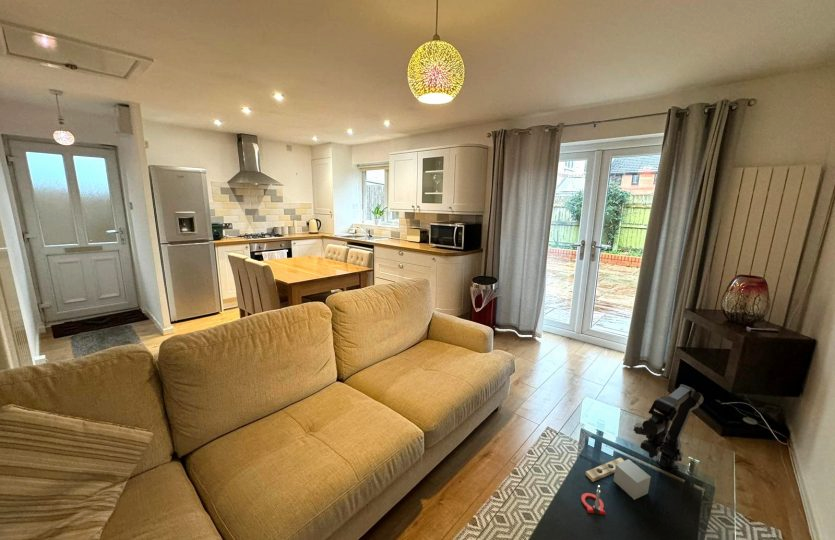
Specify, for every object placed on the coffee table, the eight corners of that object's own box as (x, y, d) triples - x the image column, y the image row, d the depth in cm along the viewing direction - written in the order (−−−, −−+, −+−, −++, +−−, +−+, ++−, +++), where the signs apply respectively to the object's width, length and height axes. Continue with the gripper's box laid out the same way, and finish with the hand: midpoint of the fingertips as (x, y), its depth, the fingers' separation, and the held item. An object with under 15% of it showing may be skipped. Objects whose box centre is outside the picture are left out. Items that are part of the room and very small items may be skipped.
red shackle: (578, 493, 142) (585, 513, 133) (580, 468, 139) (588, 486, 130) (598, 496, 141) (607, 516, 132) (601, 470, 138) (611, 489, 129)
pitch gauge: (620, 460, 158) (620, 457, 157) (627, 466, 154) (628, 463, 154) (585, 474, 151) (586, 471, 150) (592, 481, 147) (593, 478, 146)
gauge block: (626, 475, 150) (628, 459, 148) (647, 493, 141) (650, 476, 138) (613, 480, 147) (615, 464, 145) (634, 499, 138) (637, 482, 136)
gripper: (646, 410, 153) (637, 438, 157) (631, 423, 142) (622, 454, 145) (674, 424, 145) (665, 453, 148) (661, 440, 133) (651, 471, 137)
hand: (650, 457), depth 145 cm, fingers closed
